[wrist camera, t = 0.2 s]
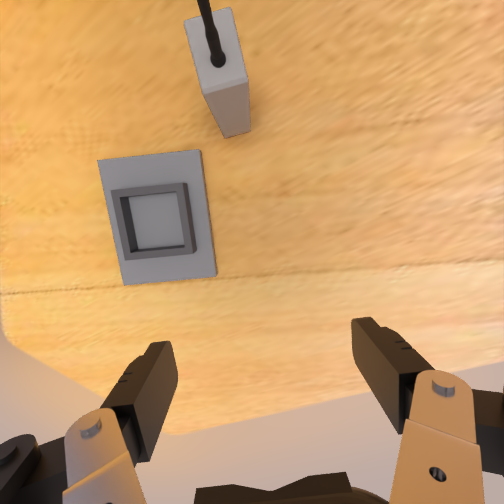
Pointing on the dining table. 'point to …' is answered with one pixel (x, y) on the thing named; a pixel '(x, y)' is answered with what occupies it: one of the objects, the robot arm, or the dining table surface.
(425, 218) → the dining table surface
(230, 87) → the vintage mobile phone
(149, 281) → the dock board
